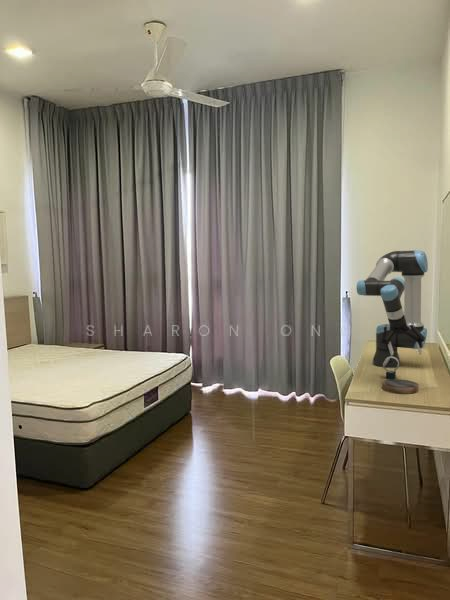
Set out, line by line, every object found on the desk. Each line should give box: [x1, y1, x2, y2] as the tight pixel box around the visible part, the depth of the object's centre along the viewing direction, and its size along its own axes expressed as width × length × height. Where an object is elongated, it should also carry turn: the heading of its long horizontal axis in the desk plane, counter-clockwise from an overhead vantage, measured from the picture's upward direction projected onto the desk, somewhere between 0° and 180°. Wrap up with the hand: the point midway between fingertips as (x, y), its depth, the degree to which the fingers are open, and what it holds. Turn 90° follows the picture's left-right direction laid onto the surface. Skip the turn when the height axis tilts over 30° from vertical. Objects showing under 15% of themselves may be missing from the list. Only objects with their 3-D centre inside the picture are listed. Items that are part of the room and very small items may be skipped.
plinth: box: [381, 378, 419, 395], centre depth 224 cm, size 16×16×3 cm
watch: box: [382, 356, 400, 380], centre depth 244 cm, size 6×8×11 cm
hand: (406, 353), depth 233 cm, fingers open, 13 cm apart
